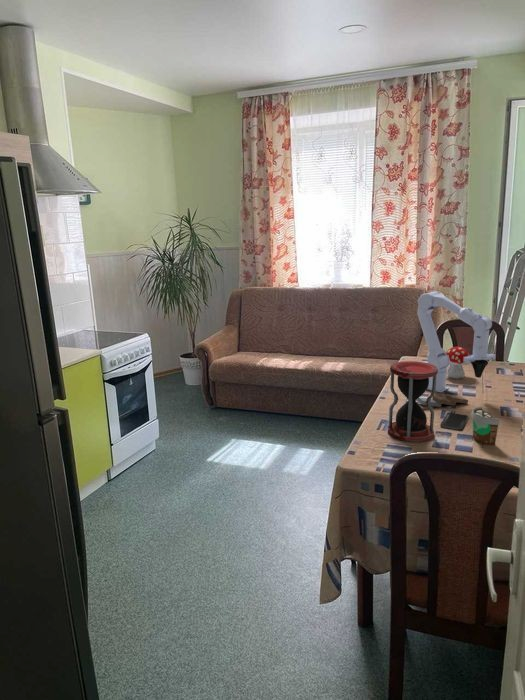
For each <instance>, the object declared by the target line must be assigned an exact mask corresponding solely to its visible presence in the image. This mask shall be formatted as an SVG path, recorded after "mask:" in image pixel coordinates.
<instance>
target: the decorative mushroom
mask: <svg viewBox="0 0 525 700" xmlns="http://www.w3.org/2000/svg"><path fill="white" fill-rule="evenodd" d="M445 353H446V355H447V356H448V357H449V359H450V364H449V367H448V369H447V374H446V375H447V376H448V377H449V378H451V379H459V380H460V379H463V377H464V376H465V374H466V373H465V370H464V367H463V366H467V365H472V364H471V362H468V363H466V362H463V360H464V357H467V356H470V354H469V352H468V350H466V349H465V348H464V347H461V346H453V347H451V348H449V349H447V350H446V351H445Z"/></svg>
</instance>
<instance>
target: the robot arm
mask: <svg viewBox="0 0 525 700" xmlns="http://www.w3.org/2000/svg"><path fill="white" fill-rule="evenodd" d="M417 305H418V306H417V313H416V314H417V318H418V320H419V324H420V327H421V330H422V333H423V337H424V339H425V342H426V343H425V344H426V346H427V350H428V352H427V355H426V358H427V363H429V364H432V365H434V366H436V367H437V368H438V373H437V376H436V392H438V393H443V392H445V391H447V390H448V389H449V388H450V386H446V385H447V375H448V374H447V371H448V369H447V368H448V366H450V365H451V364H450V359H449V357H448V356H447V355H446V350H445V349H443V348H442V346H441V342H440V339H439V336H438V334H437V330H436V327H435V323H434V321H433V318H432V313H433V311H434V309H436V308H437V307H443V308H445V309H446V310H448V311H451V312H452V313H454V314H456V315H457V316H458V319H459V320H460V321H463V323H465V324H467V325H469V326H471V327H472V330H473V332H474V333H473V345H472V354H470V355H469V356H467V357H464V360H463V362H466V363H468V362H471V364H470V365H471V366H472V368H473V373H474V377H475V378H478V379H480V378H482V375H483V372H484V370H485V369H486V367H487V366H488V364H489V361H488V360H496V354H494V353H488V350H489V341H490V340H489V339H490V338H489V337H490V329H491V328H492V326H493V321H492V319H491V318H490V317H489V316H486V315H485V316H483V314H481V313H477V312H476V311H474V310H473V308H471V307H462V306H460V305H459V304H457V303H456V302H454V301H452V300H451V299H450V298H448V297H447V296H446V295H444V294H443V293H440V292H439V291H436V290H433V291H430V292H425V293H422V294H421V295H420V296H419V297H418V299H417ZM432 384H433V377H429V385H428V388H427V391H428V390H429V391H432Z"/></svg>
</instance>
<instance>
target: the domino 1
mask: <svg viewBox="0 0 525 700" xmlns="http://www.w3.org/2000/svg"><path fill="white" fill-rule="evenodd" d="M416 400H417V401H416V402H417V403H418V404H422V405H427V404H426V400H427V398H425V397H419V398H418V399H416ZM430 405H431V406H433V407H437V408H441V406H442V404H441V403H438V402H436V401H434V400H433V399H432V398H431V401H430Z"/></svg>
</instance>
